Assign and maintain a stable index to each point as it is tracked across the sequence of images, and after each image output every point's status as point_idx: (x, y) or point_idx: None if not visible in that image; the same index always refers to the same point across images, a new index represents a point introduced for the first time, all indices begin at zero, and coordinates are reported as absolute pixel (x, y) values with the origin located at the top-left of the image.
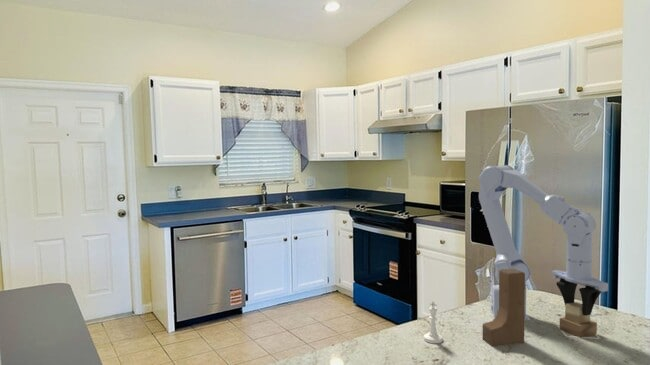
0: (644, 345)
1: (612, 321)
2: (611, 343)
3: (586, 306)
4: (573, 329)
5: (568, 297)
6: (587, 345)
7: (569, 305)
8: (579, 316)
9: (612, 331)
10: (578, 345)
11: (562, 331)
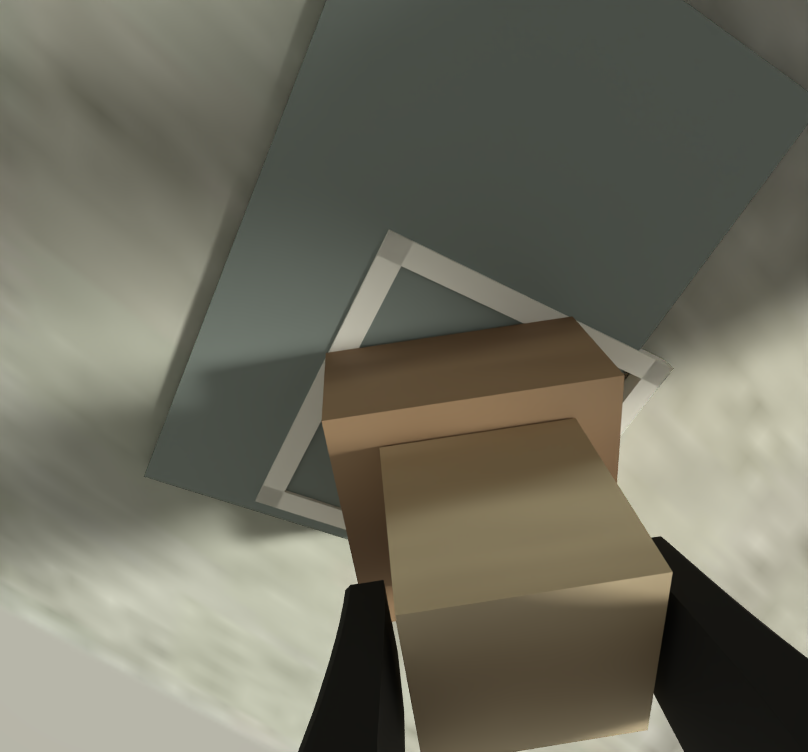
0: (131, 676)
1: (540, 748)
2: (196, 522)
3: (320, 724)
4: (410, 370)
5: (737, 726)
6: (182, 309)
7: (588, 580)
8: (388, 521)
9: (402, 660)
10: (195, 220)
11: (516, 303)
